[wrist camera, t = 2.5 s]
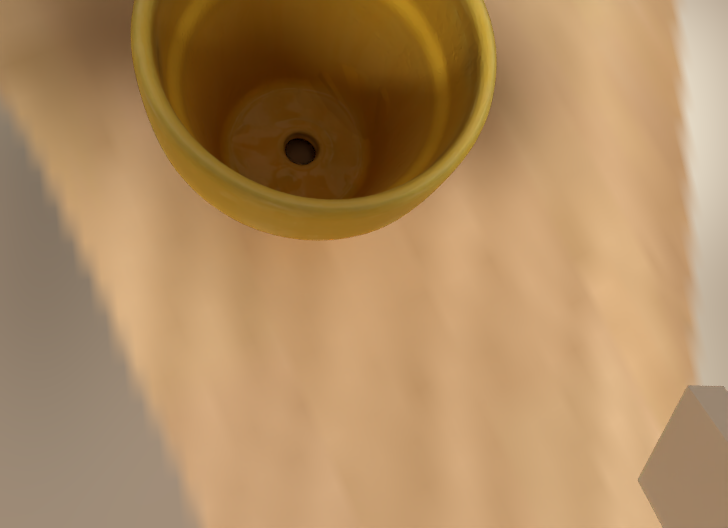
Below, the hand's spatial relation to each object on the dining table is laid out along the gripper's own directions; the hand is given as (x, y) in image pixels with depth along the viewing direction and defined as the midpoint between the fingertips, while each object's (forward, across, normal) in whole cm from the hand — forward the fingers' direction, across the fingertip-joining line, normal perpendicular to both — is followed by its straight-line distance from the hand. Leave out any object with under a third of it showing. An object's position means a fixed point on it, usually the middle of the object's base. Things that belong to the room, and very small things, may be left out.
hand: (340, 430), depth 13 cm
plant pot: (+18, 0, -3) cm, 18 cm away
